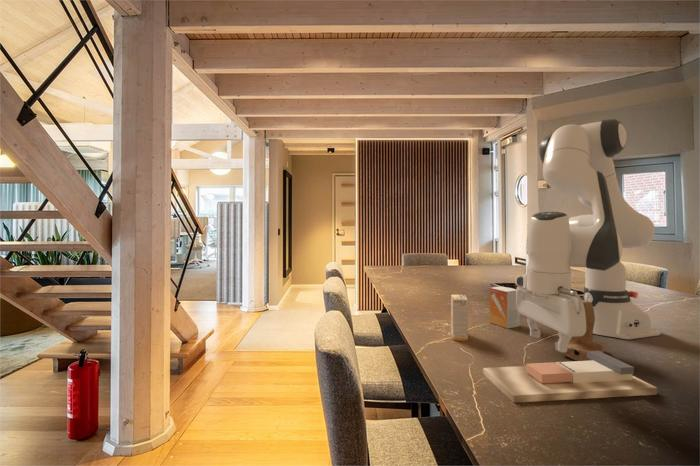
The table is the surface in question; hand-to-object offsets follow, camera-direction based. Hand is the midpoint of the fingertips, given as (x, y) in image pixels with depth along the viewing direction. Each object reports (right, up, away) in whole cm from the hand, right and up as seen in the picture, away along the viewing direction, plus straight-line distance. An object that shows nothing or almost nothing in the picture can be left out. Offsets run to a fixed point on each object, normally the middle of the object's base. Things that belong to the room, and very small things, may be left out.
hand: (547, 343), depth 82 cm
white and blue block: (+11, -8, +1) cm, 14 cm away
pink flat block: (0, -8, 0) cm, 8 cm away
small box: (+10, -8, +47) cm, 49 cm away
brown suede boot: (+19, -9, +19) cm, 28 cm away
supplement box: (-10, -9, +35) cm, 37 cm away
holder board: (+4, -9, +1) cm, 10 cm away
